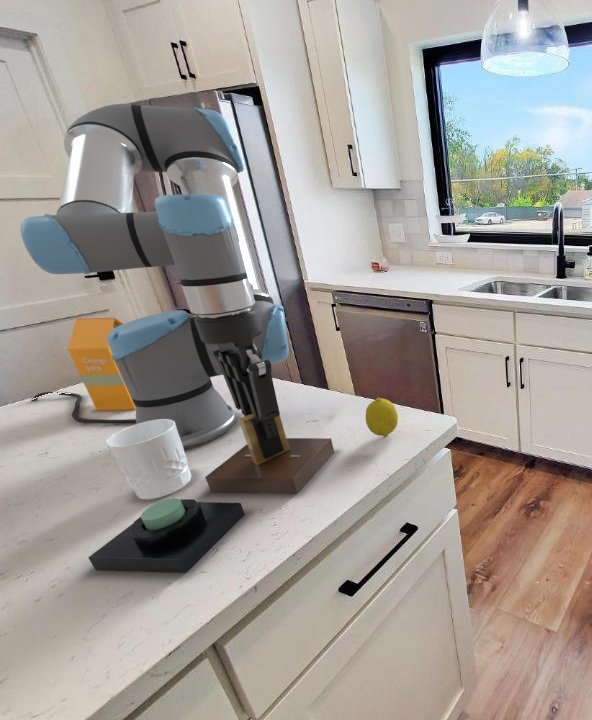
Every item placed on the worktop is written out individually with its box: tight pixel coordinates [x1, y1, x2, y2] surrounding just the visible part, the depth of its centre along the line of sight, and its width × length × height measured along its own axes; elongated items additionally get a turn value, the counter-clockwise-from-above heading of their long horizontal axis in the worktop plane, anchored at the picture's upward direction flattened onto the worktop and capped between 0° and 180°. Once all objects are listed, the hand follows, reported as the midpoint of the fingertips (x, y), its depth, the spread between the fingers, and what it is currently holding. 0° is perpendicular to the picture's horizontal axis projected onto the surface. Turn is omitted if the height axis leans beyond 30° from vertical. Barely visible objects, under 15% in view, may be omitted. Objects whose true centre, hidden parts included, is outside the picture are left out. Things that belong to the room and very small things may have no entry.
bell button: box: [140, 498, 186, 530], centre depth 54 cm, size 4×4×2 cm
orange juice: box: [67, 317, 136, 411], centre depth 92 cm, size 8×9×20 cm
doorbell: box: [88, 498, 246, 574], centre depth 55 cm, size 12×10×4 cm
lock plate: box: [204, 437, 335, 495], centre depth 69 cm, size 14×11×3 cm
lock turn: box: [238, 413, 290, 465], centre depth 67 cm, size 5×2×8 cm, turn 146°
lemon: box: [365, 397, 399, 438], centre depth 77 cm, size 6×6×8 cm
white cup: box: [105, 419, 192, 501], centre depth 65 cm, size 8×8×10 cm
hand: (270, 451), depth 68 cm, fingers closed on lock turn, 2 cm apart
